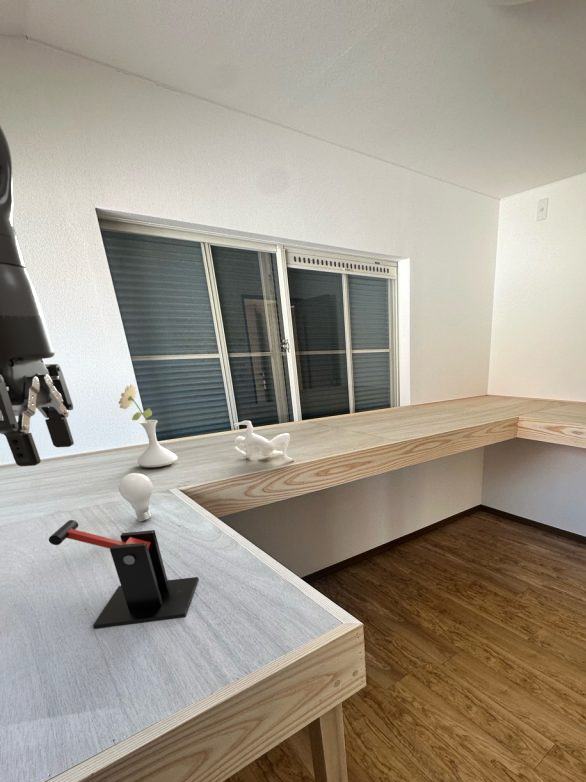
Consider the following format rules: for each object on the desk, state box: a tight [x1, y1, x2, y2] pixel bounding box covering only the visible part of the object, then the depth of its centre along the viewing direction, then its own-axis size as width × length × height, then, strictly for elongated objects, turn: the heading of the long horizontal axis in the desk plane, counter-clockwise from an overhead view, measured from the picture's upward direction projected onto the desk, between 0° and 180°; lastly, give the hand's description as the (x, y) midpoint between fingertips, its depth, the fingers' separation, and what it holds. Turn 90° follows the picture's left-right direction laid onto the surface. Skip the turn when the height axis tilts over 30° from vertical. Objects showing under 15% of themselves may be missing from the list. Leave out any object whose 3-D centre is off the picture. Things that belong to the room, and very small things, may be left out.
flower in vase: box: [118, 383, 178, 468], centre depth 126 cm, size 13×11×25 cm
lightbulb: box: [118, 472, 154, 522], centre depth 91 cm, size 6×6×11 cm
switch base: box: [92, 529, 199, 630], centre depth 61 cm, size 12×10×12 cm
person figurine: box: [233, 419, 292, 461], centre depth 134 cm, size 13×13×18 cm
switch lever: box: [48, 519, 151, 550], centre depth 58 cm, size 11×5×2 cm, turn 103°
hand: (48, 455), depth 52 cm, fingers open, 8 cm apart
